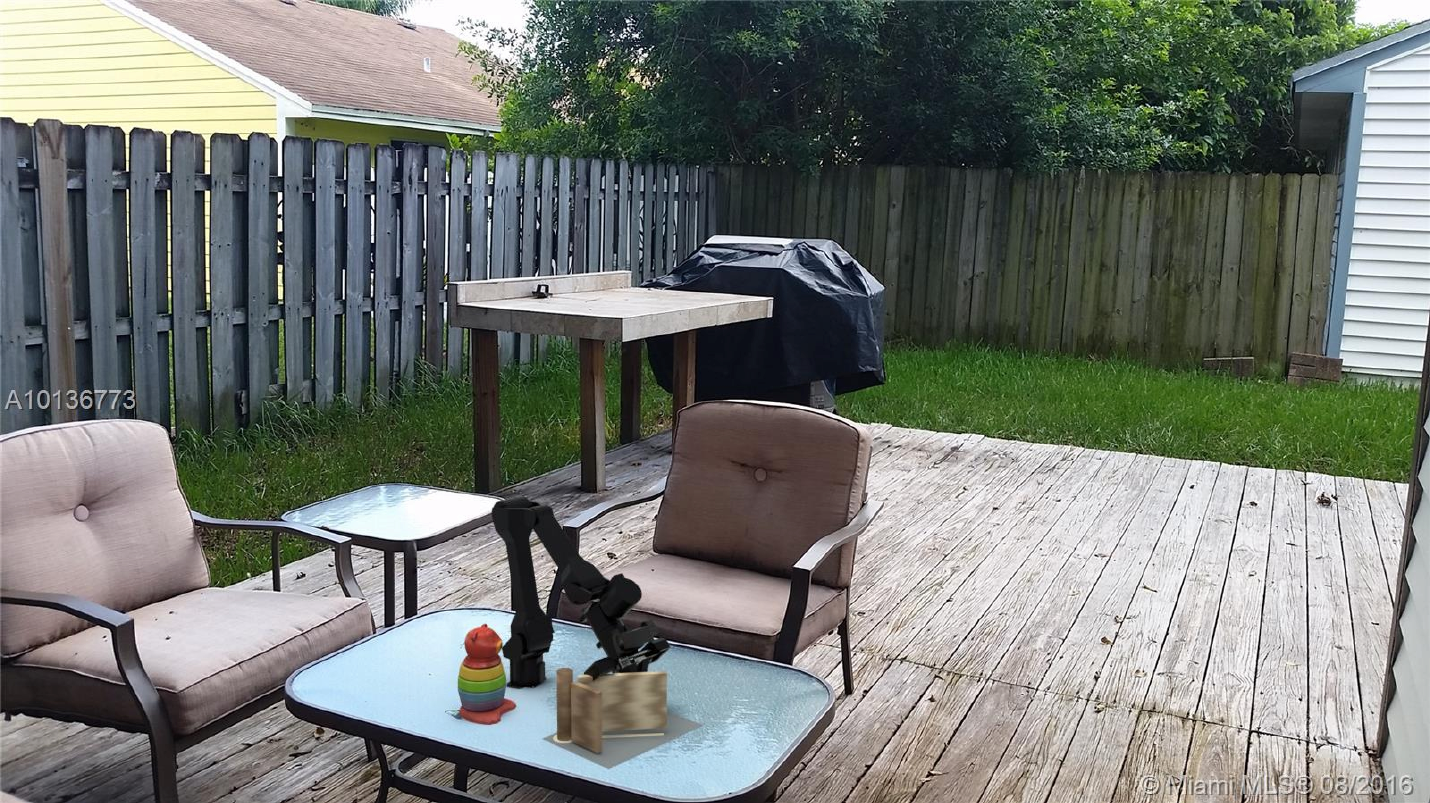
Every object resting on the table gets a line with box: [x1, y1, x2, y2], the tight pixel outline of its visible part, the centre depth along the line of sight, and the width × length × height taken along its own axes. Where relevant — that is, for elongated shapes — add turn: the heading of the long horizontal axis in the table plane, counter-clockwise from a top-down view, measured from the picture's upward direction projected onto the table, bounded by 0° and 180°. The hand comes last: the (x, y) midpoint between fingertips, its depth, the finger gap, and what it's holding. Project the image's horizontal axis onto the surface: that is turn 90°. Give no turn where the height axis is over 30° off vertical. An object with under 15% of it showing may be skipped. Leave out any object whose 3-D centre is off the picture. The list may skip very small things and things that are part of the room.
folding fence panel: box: [577, 670, 668, 731], centre depth 219 cm, size 16×1×11 cm, turn 99°
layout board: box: [542, 710, 704, 770], centre depth 221 cm, size 18×25×1 cm
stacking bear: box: [457, 623, 517, 726], centre depth 228 cm, size 11×10×18 cm
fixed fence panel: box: [555, 667, 602, 753], centre depth 214 cm, size 11×3×13 cm, turn 48°
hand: (649, 700), depth 221 cm, fingers closed
